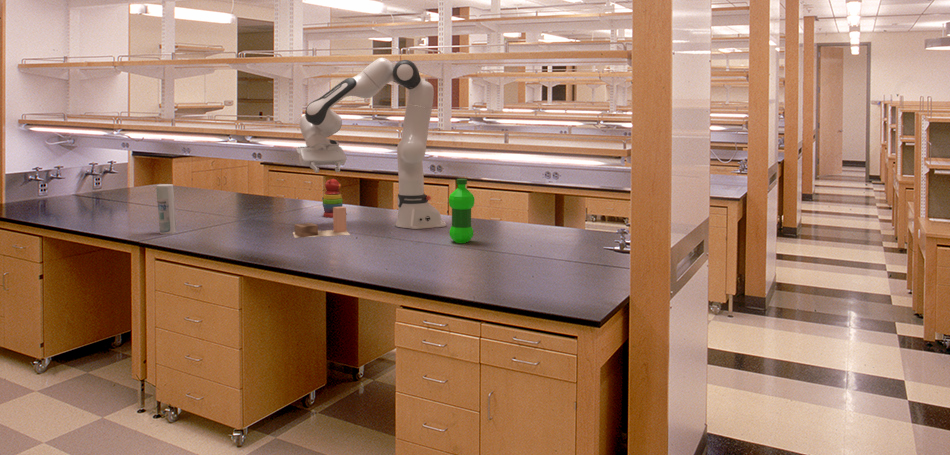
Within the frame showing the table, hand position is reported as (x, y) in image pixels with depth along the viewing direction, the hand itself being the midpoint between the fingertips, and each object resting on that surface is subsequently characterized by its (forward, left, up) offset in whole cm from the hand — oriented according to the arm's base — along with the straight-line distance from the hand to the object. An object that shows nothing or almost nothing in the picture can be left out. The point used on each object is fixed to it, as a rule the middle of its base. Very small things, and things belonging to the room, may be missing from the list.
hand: (327, 171), depth 296 cm
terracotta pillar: (-3, +9, -24) cm, 26 cm away
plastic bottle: (-47, +38, -25) cm, 66 cm away
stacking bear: (-6, -37, -25) cm, 45 cm away
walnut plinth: (+11, +13, -24) cm, 29 cm away
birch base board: (+5, +12, -25) cm, 28 cm away
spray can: (+65, -12, -25) cm, 71 cm away
